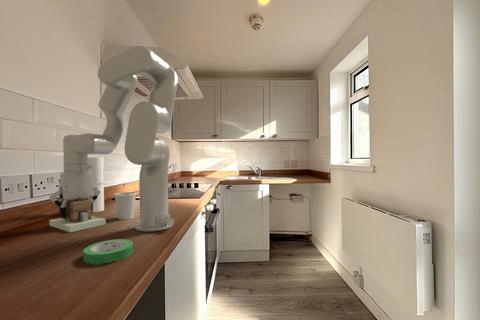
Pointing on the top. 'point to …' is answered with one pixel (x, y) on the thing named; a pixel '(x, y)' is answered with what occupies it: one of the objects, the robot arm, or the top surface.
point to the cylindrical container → (97, 181)
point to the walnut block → (78, 209)
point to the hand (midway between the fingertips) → (76, 215)
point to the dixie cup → (125, 204)
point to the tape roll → (118, 247)
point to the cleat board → (77, 223)
